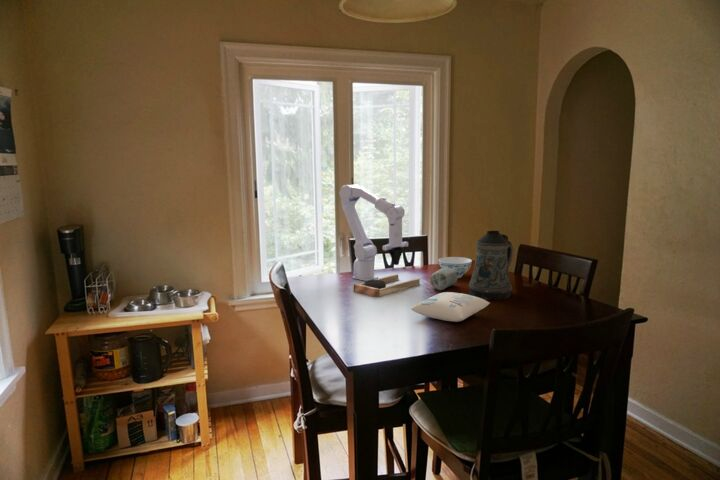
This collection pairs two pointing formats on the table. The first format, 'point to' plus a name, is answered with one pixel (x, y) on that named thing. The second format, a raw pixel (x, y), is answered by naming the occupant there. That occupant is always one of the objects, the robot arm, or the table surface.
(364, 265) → the robot arm
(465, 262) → the chinaware
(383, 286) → the smart speaker
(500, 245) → the beer stein
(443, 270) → the streaked ceramic egg
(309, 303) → the table surface
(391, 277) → the guide track
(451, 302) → the pouch
